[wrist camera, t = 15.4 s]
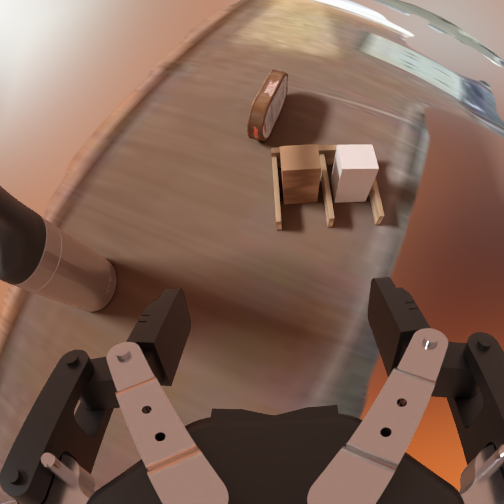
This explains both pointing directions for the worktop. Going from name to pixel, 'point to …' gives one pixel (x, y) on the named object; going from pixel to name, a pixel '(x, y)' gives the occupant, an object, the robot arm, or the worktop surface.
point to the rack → (324, 186)
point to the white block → (353, 173)
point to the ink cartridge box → (10, 502)
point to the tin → (267, 106)
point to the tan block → (300, 173)
